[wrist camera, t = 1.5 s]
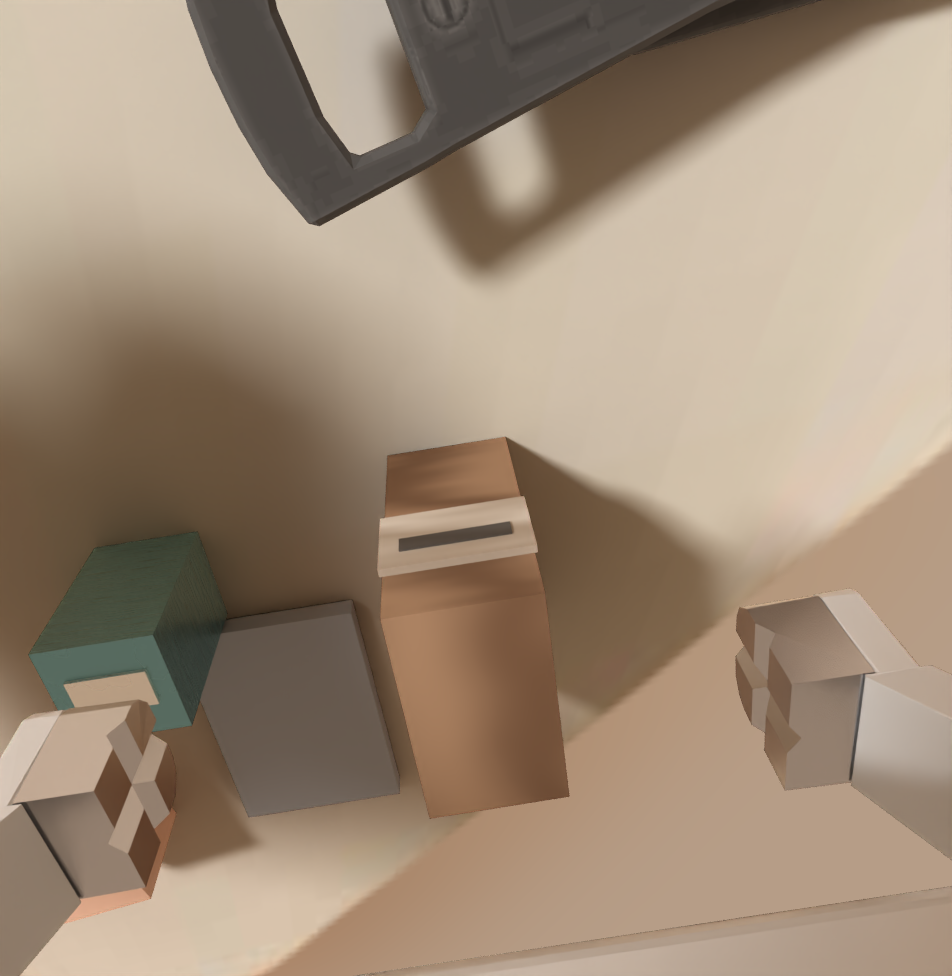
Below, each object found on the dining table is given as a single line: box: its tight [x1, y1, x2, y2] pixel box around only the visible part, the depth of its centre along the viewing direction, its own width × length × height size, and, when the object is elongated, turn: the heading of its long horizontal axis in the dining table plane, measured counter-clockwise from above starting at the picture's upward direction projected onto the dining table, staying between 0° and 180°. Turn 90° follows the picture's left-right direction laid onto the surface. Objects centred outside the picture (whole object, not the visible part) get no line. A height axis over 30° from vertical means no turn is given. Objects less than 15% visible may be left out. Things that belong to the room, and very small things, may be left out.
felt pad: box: [200, 600, 400, 817], centre depth 39 cm, size 8×12×1 cm, turn 8°
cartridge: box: [28, 532, 227, 732], centre depth 33 cm, size 4×4×7 cm
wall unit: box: [377, 437, 569, 819], centre depth 31 cm, size 5×10×11 cm, turn 8°
